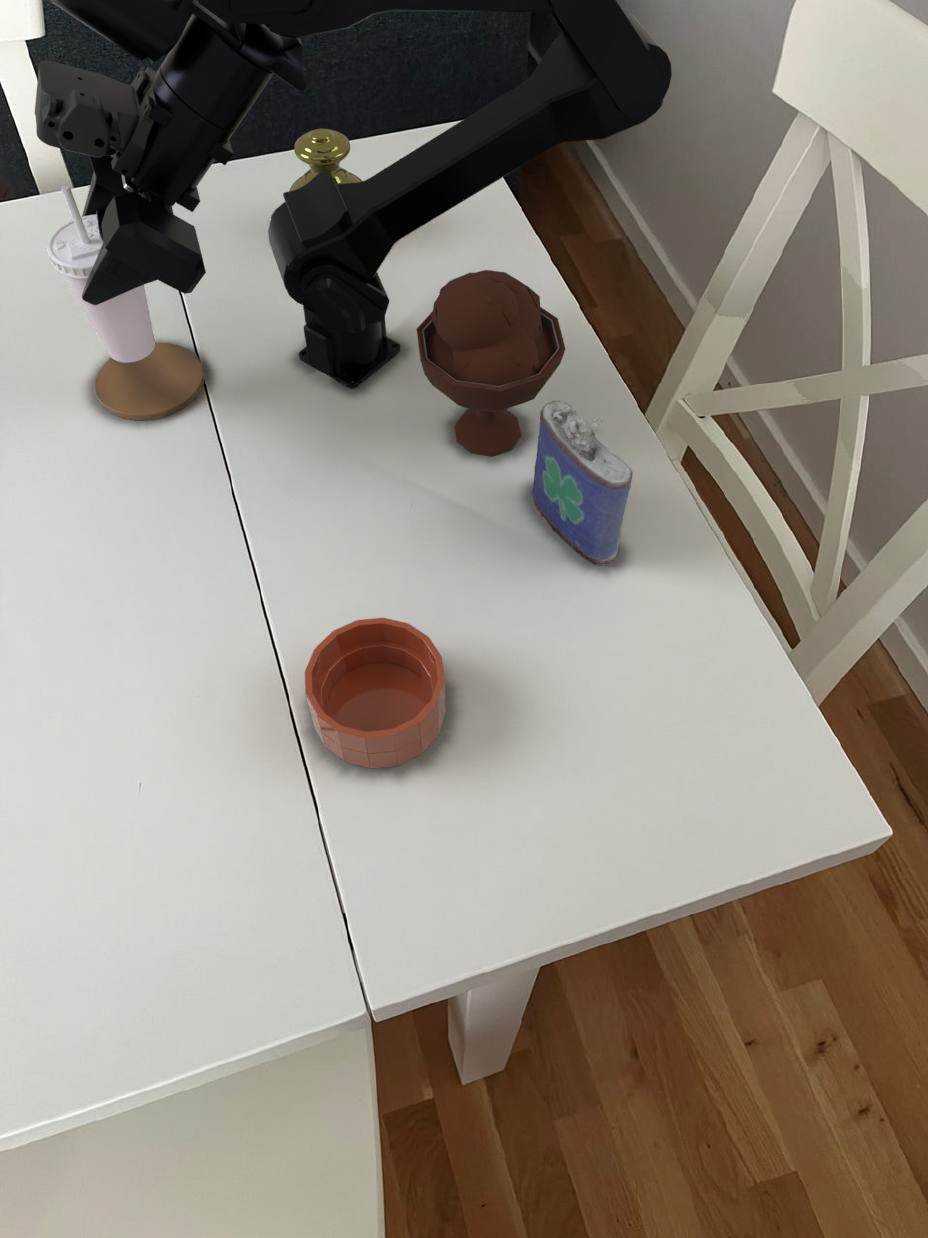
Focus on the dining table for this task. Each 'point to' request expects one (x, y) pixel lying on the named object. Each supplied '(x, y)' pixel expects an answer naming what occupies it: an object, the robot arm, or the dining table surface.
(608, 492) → the flask
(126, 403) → the coaster
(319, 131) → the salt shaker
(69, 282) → the smoothie
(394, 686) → the bowl
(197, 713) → the dining table surface
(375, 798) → the dining table surface
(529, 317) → the ice cream bowl
